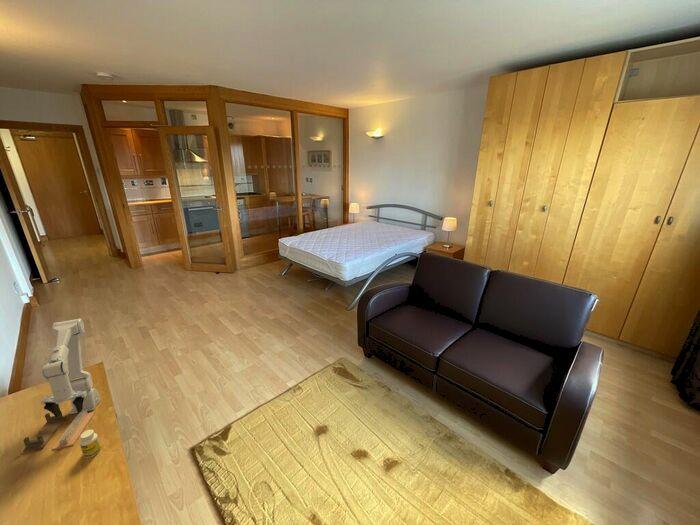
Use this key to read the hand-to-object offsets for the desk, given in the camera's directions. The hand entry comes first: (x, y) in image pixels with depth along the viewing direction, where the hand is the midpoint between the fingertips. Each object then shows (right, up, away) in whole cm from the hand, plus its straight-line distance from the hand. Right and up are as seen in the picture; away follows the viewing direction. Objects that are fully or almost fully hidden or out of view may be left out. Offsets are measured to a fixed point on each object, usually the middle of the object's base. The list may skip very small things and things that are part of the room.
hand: (69, 413), depth 122 cm
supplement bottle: (+17, -13, -7) cm, 22 cm away
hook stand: (-10, -9, 0) cm, 14 cm away
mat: (0, -9, +3) cm, 9 cm away
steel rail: (0, -7, +2) cm, 8 cm away
